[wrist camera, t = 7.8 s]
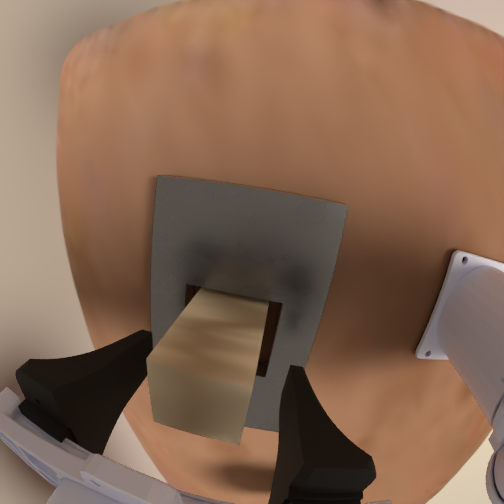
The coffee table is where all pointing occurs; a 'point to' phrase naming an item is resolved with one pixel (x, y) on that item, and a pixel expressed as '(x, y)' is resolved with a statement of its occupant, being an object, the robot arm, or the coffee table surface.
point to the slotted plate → (246, 265)
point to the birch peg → (208, 365)
